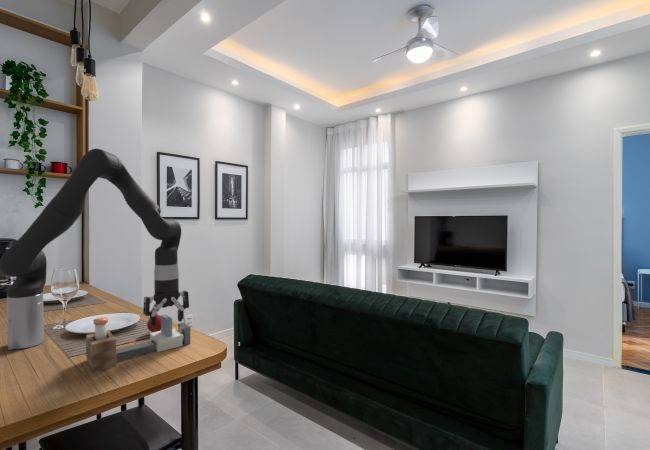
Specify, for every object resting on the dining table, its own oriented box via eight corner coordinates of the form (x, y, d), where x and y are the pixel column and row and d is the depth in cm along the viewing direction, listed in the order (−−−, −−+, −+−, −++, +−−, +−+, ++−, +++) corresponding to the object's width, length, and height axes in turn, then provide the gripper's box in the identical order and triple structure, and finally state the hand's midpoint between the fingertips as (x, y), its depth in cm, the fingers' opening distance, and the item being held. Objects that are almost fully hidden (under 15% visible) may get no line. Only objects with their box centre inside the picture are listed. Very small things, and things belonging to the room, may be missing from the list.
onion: (143, 334, 125) (143, 313, 125) (157, 329, 130) (157, 309, 130) (153, 337, 122) (153, 316, 122) (167, 332, 128) (167, 311, 127)
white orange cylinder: (95, 348, 99) (94, 322, 99) (92, 344, 102) (92, 319, 101) (109, 345, 101) (108, 319, 101) (106, 341, 104) (106, 316, 104)
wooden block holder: (92, 371, 96) (92, 344, 96) (86, 360, 103) (86, 334, 103) (116, 365, 100) (116, 339, 100) (109, 354, 107) (108, 330, 107)
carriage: (158, 352, 109) (158, 322, 108) (149, 344, 115) (149, 316, 115) (183, 346, 114) (183, 317, 114) (173, 338, 121) (173, 311, 120)
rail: (114, 363, 102) (114, 343, 101) (110, 356, 106) (110, 338, 106) (190, 343, 117) (190, 326, 117) (183, 338, 122) (183, 322, 122)
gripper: (183, 273, 122) (183, 316, 122) (140, 278, 112) (141, 325, 112) (191, 276, 116) (192, 321, 117) (147, 281, 106) (147, 331, 107)
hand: (167, 323), depth 115 cm, fingers open, 8 cm apart
